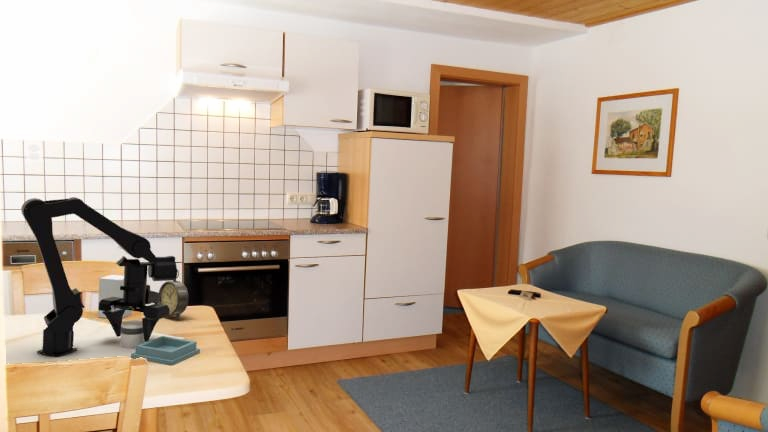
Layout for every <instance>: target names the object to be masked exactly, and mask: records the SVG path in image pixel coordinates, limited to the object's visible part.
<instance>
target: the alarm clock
mask: <svg viewBox="0 0 768 432" xmlns="http://www.w3.org/2000/svg"><path fill="white" fill-rule="evenodd" d="M179 272H180V271H179V270H178V268H177V278H176V280H172V281H164V283H162V284H161V286H160V288H159V290H158V293H161V296H160V299H159V303H158V304H164V305H168V307H169V309H170V312H169V315H168V316H167V317H170V316H176V319H177V321H178V322H179V321H180V315H181V314H182V313H184V312H185V310H186V309H187V307H188V306H189V305H188V304H189V297H190V296H189V291H188V288H187V287H186V285H185V284H184V283H183V282H181V281H180V280H177V279H178V278H179V275H180V273H179Z"/></svg>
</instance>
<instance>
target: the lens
mask: <svg viewBox="0 0 768 432" xmlns="http://www.w3.org/2000/svg"><path fill="white" fill-rule="evenodd" d="M120 332H121V336H120V344H119V346H120V347H121V348H124V349H136V346H137V345H140V344H142V343H145V341H144V335H143V324H142V320H137V319H136V320H125V321H122V323H121V331H120Z"/></svg>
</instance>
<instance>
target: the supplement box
mask: <svg viewBox="0 0 768 432" xmlns="http://www.w3.org/2000/svg"><path fill="white" fill-rule="evenodd" d="M123 285H124V275H119V274H108V275H106V276H102V277H100V278H98V307H97V308H99V302H100V301H101V300H102V299H106V298H110V297H119V298H123V290H120V286H123ZM97 311H98V312H97V317H98V318H104V319H107V317H106V315H105V314H103V313H102V312H103V311H101V310H97ZM131 314H132V311H131V310H125V312H124V314H123V316H122V319H123V318H125V317H129V316H131Z"/></svg>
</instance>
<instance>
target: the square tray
mask: <svg viewBox="0 0 768 432" xmlns="http://www.w3.org/2000/svg"><path fill="white" fill-rule="evenodd" d="M197 343H198V341H195V340H188V339H182V338H176V337H171V336H164V335H161V336H159V337H157V338H154V339H151V340H148V341H147V342H145V341H144V343H142V344H140V345H137V346H136V348H134V349H135V352H132V353H131V354H130V358H131V359H134V358H139V357H143V358H146V359H147V360H148V361H147V362H150V363H151V362H152V363H157V364H163V365H167V366H173V365H176V364H178V363H180V362H182V361H185V360H186V359H189V358H191V357H193V356H195V355H198V354H199V353H201V349H200V348H197Z"/></svg>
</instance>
